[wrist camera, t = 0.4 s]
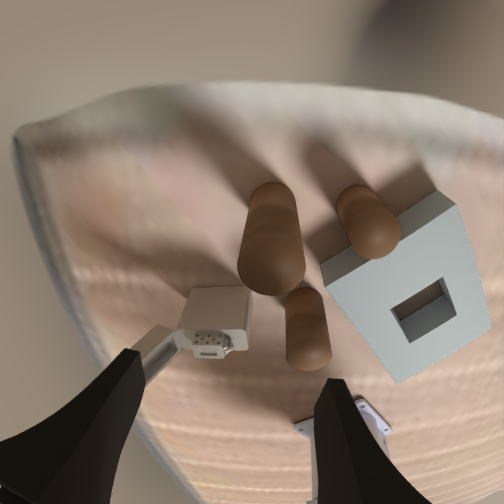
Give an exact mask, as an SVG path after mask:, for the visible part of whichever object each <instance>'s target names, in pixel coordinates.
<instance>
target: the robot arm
mask: <svg viewBox="0 0 504 504" xmlns="http://www.w3.org/2000/svg"><path fill="white" fill-rule="evenodd" d="M145 385H146V381H145V376H144V371H143V365H142V360H141V355H140V351H136V350H132V349H128V348H125V349H123V351H122V352H121V353H120V354H119V355H118V356H117V357H116V358H115V359H114V360H113V361H112V362H111V363H110V364H109V365H108V366H107V368H106V369H105V370H104V371H103V372H102V373H101V374H100V375H99V376H98V377H97V378H96V379H94V380H93V381H92V382H91V383H90V385H88V387H86V388H85V389H84V390H83V391H82V392H80V393H79V394H78V395H77V396H76V397H75V398H74V399H73V400H71V401H70V402H69V403H67V404H66V405H65V406H64V407H62V408H61V409H60V410H58V411H57V412H56V413H54V414H53V415H51V416H49V417H48V418H46V419H45V420H43V421H42V422H40V423H39V424H37V425H35V426H33V427H31V428H29V429H28V430H26V431H24V432H22V433H20V434H18V435H16V436H14V437H11V438H8V439H6V440H3V441H1V442H0V485H1V488H0V504H110V497H111V491H112V487H113V482H114V477H115V473H116V469H117V465H118V461H119V458H120V454H121V451H122V448H123V446H124V443H125V441H126V438H127V436H128V433H129V431H130V429H131V426H132V424H133V421H134V419H135V416H136V414H137V411H138V409H139V406H140V403H141V400H142V396H143V392H144V389H145ZM294 429H295V430H296V431H298V432H299V433H301V434H302V435H304V436H305V437H307V438H308V439H310V440H311V466H312V500H311V501H307V502H306V504H432V503H431V502H429V501H428V500H427V499H426V498H425V497H424V496H422V495H421V494H420V493H419V492H418V491H417V490H416V489H415V488H414V487H413V486H412V485H411V484H410V483H409V482H408V481H407V480H406V479H405V478H404V477H403V475H402V474H401V473H400V472H399V471H398V470H397V468H396V467H395V466H394V465H393V464H392V462H391V461H390V457H389V451H388V446H387V441H386V435H388V434H390V433H392V432H393V430H392V428H391V427H390V426H389V425H388V424H387V423H386V422H385V421H384V419H383V418H382V417H381V416H380V415H379V414H378V413H377V412H376V411H375V410H374V409H373V408H372V407H371V406H370V405H369V404H368V403H367V402H366V401H365V400H364V399H359V400H356V401H354V400H353V398H352V396H351V394H350V392H349V389H348V387H347V385H346V383H345V381H344V380H343V379H332V378H328V379H327V381H326V384H325V386H324V388H323V390H322V392H321V394H320V396H319V398H318V401H317V403H316V405H315V407H314V418H311V419H308V420H305V421H302V422H300V423H297V424H295V425H294Z"/></svg>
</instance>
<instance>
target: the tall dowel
mask: <svg viewBox="0 0 504 504" xmlns="http://www.w3.org/2000/svg"><path fill="white" fill-rule="evenodd" d="M305 269H306V264H305V257H304V251H303V244H302V238H301V231H300V225H299V219H298V213H297V207H296V201H295V197H294V195H293V193H292V191H291V190H290V189H289V188H288V187H286V186H285V185H283V184H280V183H275V182H270V183H266V184H263V185H261V186H260V187H258V188H257V189H256V190H255V191H254V193H253V195H252V197H251V201H250V206H249V211H248V215H247V220H246V224H245V229H244V234H243V239H242V243H241V248H240V253H239V257H238V262H237V270H238V274H239V277H240V279H241V280H242V282H243V283H244V284H245V285H246V286H247V287H248V288H249V289H251V290H252V291H254V292H256V293H259V294H262V295H269V296H275V295H281V294H284V293H287V292H289V291H291V290H293V289H294V288H295V287H296V286H298V284H299V283H300V282H301V280H302V279H303V277H304V274H305Z"/></svg>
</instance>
